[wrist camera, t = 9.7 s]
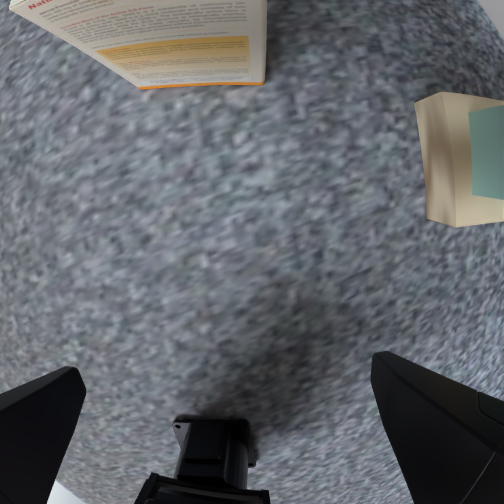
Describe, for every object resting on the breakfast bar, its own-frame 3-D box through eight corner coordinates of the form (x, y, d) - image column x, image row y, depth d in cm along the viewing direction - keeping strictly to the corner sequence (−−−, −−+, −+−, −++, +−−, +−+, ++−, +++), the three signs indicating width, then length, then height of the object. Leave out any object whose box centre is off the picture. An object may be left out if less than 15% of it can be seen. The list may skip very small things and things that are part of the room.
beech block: (499, 210, 19) (532, 217, 15) (424, 218, 19) (456, 227, 15) (490, 111, 17) (522, 105, 13) (412, 103, 17) (441, 91, 13)
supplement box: (267, 24, 16) (275, -126, 3) (264, 88, 17) (273, -51, 4) (145, 30, 16) (46, -79, 3) (137, 91, 17) (1, 11, 5)
